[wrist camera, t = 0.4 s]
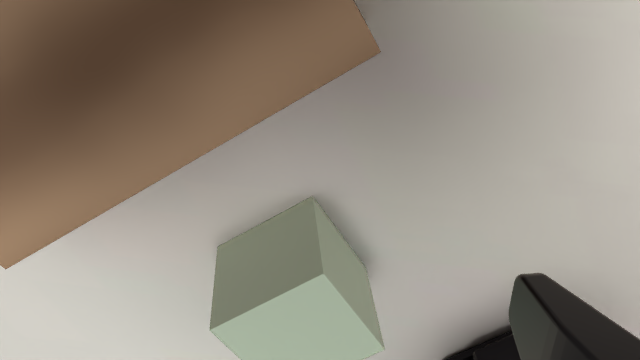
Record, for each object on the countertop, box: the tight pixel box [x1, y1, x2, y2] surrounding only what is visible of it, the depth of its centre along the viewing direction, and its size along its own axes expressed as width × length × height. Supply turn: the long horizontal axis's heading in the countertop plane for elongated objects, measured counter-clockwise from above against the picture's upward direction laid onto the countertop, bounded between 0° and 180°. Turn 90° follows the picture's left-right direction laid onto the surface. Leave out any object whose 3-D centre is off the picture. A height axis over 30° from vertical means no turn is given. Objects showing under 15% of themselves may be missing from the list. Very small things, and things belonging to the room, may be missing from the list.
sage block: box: [210, 196, 385, 360], centre depth 24 cm, size 5×5×5 cm
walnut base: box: [0, 0, 381, 269], centre depth 19 cm, size 8×16×3 cm, turn 120°
